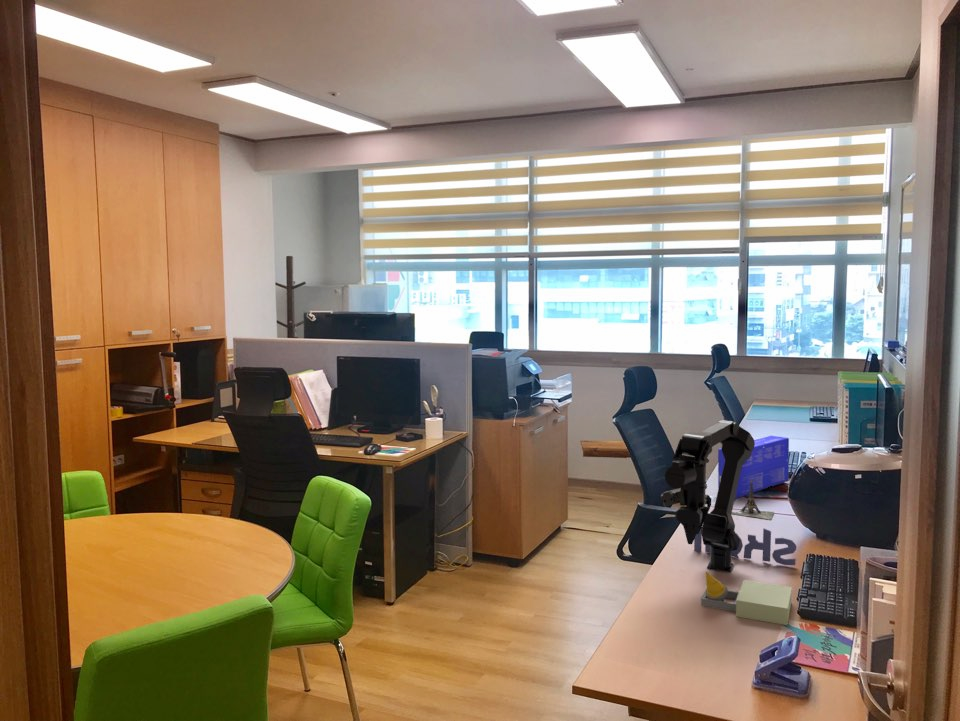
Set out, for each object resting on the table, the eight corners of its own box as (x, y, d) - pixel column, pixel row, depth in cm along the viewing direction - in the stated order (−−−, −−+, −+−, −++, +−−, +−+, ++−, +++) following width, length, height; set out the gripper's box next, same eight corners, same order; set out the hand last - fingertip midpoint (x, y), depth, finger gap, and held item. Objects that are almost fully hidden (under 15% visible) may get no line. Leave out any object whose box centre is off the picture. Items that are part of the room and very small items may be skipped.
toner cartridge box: (769, 478, 312) (771, 434, 310) (789, 482, 305) (790, 437, 304) (716, 494, 287) (717, 447, 286) (736, 499, 281) (737, 450, 279)
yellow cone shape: (725, 590, 189) (709, 560, 186) (736, 601, 184) (720, 570, 181) (707, 601, 189) (691, 572, 186) (718, 612, 184) (702, 582, 181)
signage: (795, 566, 211) (796, 532, 210) (795, 567, 211) (796, 533, 210) (694, 551, 224) (695, 519, 223) (693, 552, 224) (694, 519, 223)
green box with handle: (708, 589, 195) (709, 574, 194) (791, 602, 186) (791, 587, 186) (699, 609, 182) (699, 593, 182) (787, 625, 173) (787, 608, 173)
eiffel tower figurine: (725, 515, 262) (726, 477, 261) (730, 507, 271) (731, 471, 270) (770, 520, 255) (771, 482, 254) (774, 513, 264) (775, 476, 263)
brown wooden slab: (583, 460, 350) (583, 448, 349) (580, 452, 368) (580, 440, 368) (632, 460, 348) (632, 448, 348) (627, 452, 367) (627, 440, 366)
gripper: (671, 470, 209) (670, 525, 210) (655, 486, 192) (654, 545, 194) (712, 474, 204) (711, 530, 205) (700, 491, 187) (698, 551, 189)
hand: (693, 538), depth 198 cm, fingers open, 9 cm apart
